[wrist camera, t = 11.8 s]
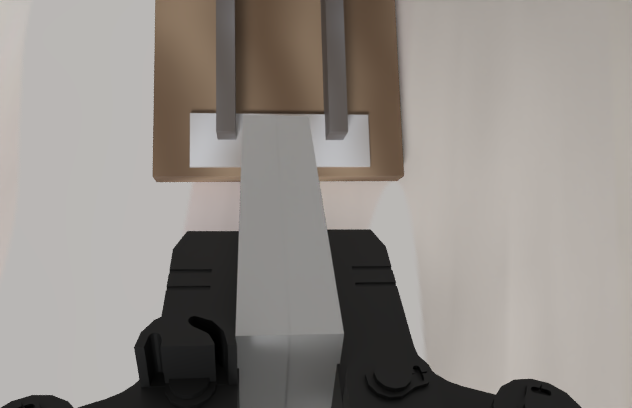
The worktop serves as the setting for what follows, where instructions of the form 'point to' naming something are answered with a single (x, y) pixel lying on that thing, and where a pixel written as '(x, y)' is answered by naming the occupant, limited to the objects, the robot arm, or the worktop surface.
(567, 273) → the worktop surface
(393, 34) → the switch panel
